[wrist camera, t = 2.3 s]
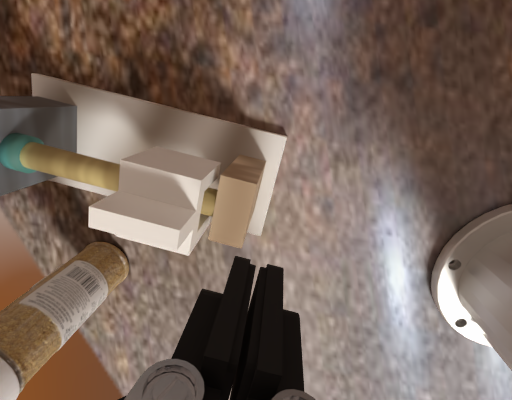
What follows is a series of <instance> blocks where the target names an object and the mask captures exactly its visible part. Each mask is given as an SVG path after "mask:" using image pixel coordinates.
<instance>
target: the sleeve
mask: <svg viewBox="0 0 512 400" xmlns="http://www.w3.org/2000/svg"><path fill="white" fill-rule="evenodd" d="M220 165H221V163H220V162H217V161H213V160H209V159H205V158H201V157H197V156H193V155H189V154H185V153H181V152H177V151H174V150H170V149H166V148H162V147H158V146H157V147H154V148H151V149H148V150H146V151H143V152H140V153H137V154H134V155H132V156H129V157H126V158H123V159H120V172H119V188H118V191H117V192H115V193H113V194H111V195H109V196H107V197H106V198H104V199H102V200H100V201H98V202H96V203H94V204H92V205H91V206H89V223H88V227H90V228H93V229H97V230H101V231H105V232H108V233H112V234H116V236H117V237H120V238H124V239H128V240H132V241H135V242H139V243H143V244H147V245H150V246H154V247H158V248H162V249H165V250H169V251H173V252H176V253H180V254H184V255H188V256H189V255H190V253H191V251H192V250H193V248H194V247H195V245H196V244H197V242H198V241H199V239H200V238H201V236H202V235H203V233H204V232H205V230H206V229H207V227H208V225H209V223H210V218H211V216H208V215H204V214H201V208H202V202H203V197H204V192H205V190H206V189H207V188H208V187H209V186H210V185H211V184H212V183H213V182H214V181H215V180H216V179H217V178H218V176H219V171H220Z"/></svg>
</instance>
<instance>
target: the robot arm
mask: <svg viewBox="0 0 512 400" xmlns="http://www.w3.org/2000/svg"><path fill="white" fill-rule="evenodd" d="M255 267H256V265H252V264H250V259H246V258H242V257H238V256H235V258H234V261H233V265H232V268H231V271H230V274H229V277H228V280H227V284H226V287H225V290H224V293H223V294H221V293H217V292H214V291H210V290H206V289H202V290H201V292H200V294H199V297H198V299H197V301H196V303H195V306H194V308H193V310H192V313H191V315H190V317H189V320H188V322H187V324H186V326H185V329H184V331H183V333H182V336H181V338H180V340H179V343H178V345H177V347H176V349H175V352H174V354H173V356H172V359H166V360H163V361H160V362H157V363H155V364H154V365H152V366H150V367H149V368H148V369H147V370H146V371H145V372H144V373H143V374H142V375H141V376H140V378H139V379H138V381H137V382H136V383H135V385H134V386H133V388H132V389H131V390H130V392H129V393H128V395H127V396H125V397H123V398H121V399H118V400H228V399H229V395H230V392H231V396H230V400H315V399H314V398H313V397H312V396H310V395H309V394H307V393H305V392H304V380H303V364H302V348H301V332H300V318H299V314H298V313H296V312H292V311H288V310H284V309H283V268H281V267H277V266H273V265H270V264H267V267H266V268H264V267H260V270H259V273H258V277H257V281H256V284H255V288H254V291H253V295H252V299H251V302H250V306H249V301H250V295H251V290H252V284H253V278H254V273H255ZM431 290H432V297H433V300H434V302H435V304H436V307H437V309H438V310H439V312H440V313H441V315H442V316H443V318H444V319H445V321H446V322H447V323H448V324H449V325H450V326H451V328H452V329H454V330H455V331H456V332H458V333H459V334H461V335H462V336H463V337H465V338H467V339H469V340H472V341H474V342H476V343H479V344H482V345H486V346H490V347H493V348H494V349H495V351H496V352H497V353H498V354H499V356H500V357H501V358H502V359H503V361H504V362H505V363H506V364H507V366H508V367H509V368H510V369H511V371H512V204H510V205H506V206H502V207H500V208H497V209H495V210H492V211H490V212H487V213H485V214H483V215H481V216H480V217H478V218H476V219H475V220H473V221H471V222H470V223H468V224H467V225H466V226H464V227H463V228H462V229H461V230H460V231H458V232H457V233H456V234H455V235H454V236H453V237H452V238H451V239H450V241H449V242H448V243H447V244H446V245H445V246H444V248H443V250H442V251H441V253H440V255H439V256H438V258H437V260H436V263H435V266H434V269H433V272H432V279H431ZM248 307H249V309H248ZM247 312H248V313H247ZM231 388H232V391H231Z"/></svg>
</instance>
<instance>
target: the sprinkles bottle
mask: <svg viewBox="0 0 512 400" xmlns="http://www.w3.org/2000/svg"><path fill="white" fill-rule="evenodd" d="M128 272H129V264H128V261H127V258H126V256H125V255H124V254H123V252H122V251H121V250H120V249H118V248H117V247H116V246H114V245H112V244H110V243H107V242H93V243H91V244H89V245H87V246H86V247H85V249H84V250H83V251H82V252H80V253H79V254H78V255H76V256H75V257H74V258H72V259H71V260H69V261H68V262H67V263H65V264H63V265H61V266H60V267H58V268H57V269H56V270H54V271H53V272H51V273H50V274H49V275H47V276H46V277H45V278H43V279H42V280H41V281H39V282H38V283H37V284H35V285H34V286H33V287H31V288H30V290H29V291H28V292H26V293H25V294H23V295H22V296H21V297H19V298H18V299H16V300H15V301H14V302H12V303H11V304H10V305H9V306H7V307H6V308H5V309H4V310H2V311H0V400H16V398H17V397H18V395H19V393H20V392H21V391H22V390H23V388H24V386H25V384H26V383H27V382H28V381H29V380H30V379H31V378H32V377H33V375H34V374H35V373H36V372H37V371H38V370H39V369H40V368H41V367H42V365H44V364H45V363H46V362H47V361H48V359H49V358H50V357H51V356H52V355H53V354H54V353H56V352H57V351H58V350H59V349H60V348H61V347H62V346H63V345H64V343H65V342H66V341H67V340H68V339H69V338H70V337H71V336H72V334H74V332H75V331H76V330H77V329H78V328H79V327H80V326H81V325H82V324H83V323H84V322H85V321H86V320H87V319H88V317H89V316H90V315H91V314H92V313H93V312H94V311H95V310H96V309H97V308H98V307H99V305H100V304H101V303H102V302H103V301H104V300H105V299H106V297H107V296H108V295H109V294H110V292H111V291H112V290H113V289H114V288H115V287H116V286H117V285H118V284H119V283H121V282H122V281H123V280H124V279H125V278H126V277H127V275H128Z"/></svg>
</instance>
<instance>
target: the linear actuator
mask: <svg viewBox="0 0 512 400" xmlns="http://www.w3.org/2000/svg"><path fill="white" fill-rule="evenodd" d="M31 79H32V96H0V196H2V195H5V194H8V193H11V192H14V191H17V190H20V189H23V188H26V187H29V186H32V185H35V184H37V183H40V182H43V181H46V180H49V181H53V182H57V183H61V184H64V185H68V186H72V187H76V188H80V189H83V190H87V191H91V192H95V193H99V194H102V195H106V196H109V195H111V194H113V193H115V192H117V191H118V188H119V172H120V159H123V158H126V157H129V156H132V155H134V154H137V153H140V152H143V151H146V150H148V149H151V148H154V147H157V146H158V147H162V148H166V149H170V150H174V151H177V152H181V153H185V154H189V155H193V156H197V157H201V158H205V159H209V160H213V161H217V162H220V163H221V165H220V171H219V176H218V178H217V179H216V180H215V181H214V182H213V183H212V184H211V185H210V186H209V187H208V188H207V189H206V190H205V192H204V197H203V202H202V208H201V214H204V215H208V216H211V218H210V223H211V228H210V233H209V238H208V240H211V241H215V242H219V243H222V244H226V245H230V246H234V247H238V248H242V245H243V242H244V239H245V236H246V233H251V234H254V235H258V236H261V233H262V229H263V226H264V222H265V218H266V214H267V211H268V207H269V203H270V199H271V195H272V192H273V188H274V184H275V180H276V177H277V173H278V169H279V165H280V162H281V158H282V154H283V150H284V147H285V143H286V139H287V136H285V135H281V134H277V133H273V132H269V131H265V130H261V129H257V128H253V127H249V126H246V125H242V124H238V123H234V122H230V121H226V120H222V119H218V118H214V117H210V116H206V115H202V114H198V113H194V112H190V111H186V110H182V109H178V108H174V107H170V106H166V105H162V104H158V103H154V102H150V101H146V100H142V99H138V98H134V97H130V96H126V95H122V94H118V93H114V92H110V91H106V90H102V89H98V88H94V87H90V86H86V85H82V84H78V83H74V82H70V81H66V80H62V79H58V78H54V77H50V76H46V75H42V74H35V73H31Z"/></svg>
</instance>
